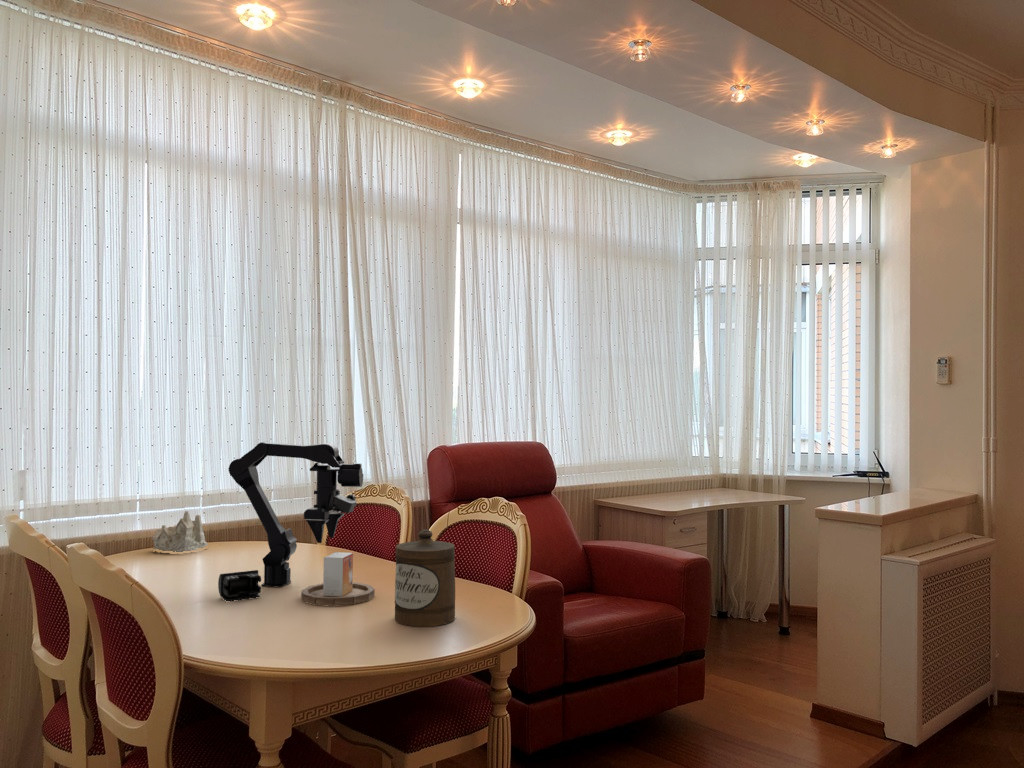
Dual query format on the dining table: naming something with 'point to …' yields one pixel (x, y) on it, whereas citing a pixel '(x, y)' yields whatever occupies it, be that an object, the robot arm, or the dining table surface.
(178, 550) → the miniature castle
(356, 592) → the round tray
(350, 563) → the small box
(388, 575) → the dining table surface
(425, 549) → the wooden container
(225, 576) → the end cap
